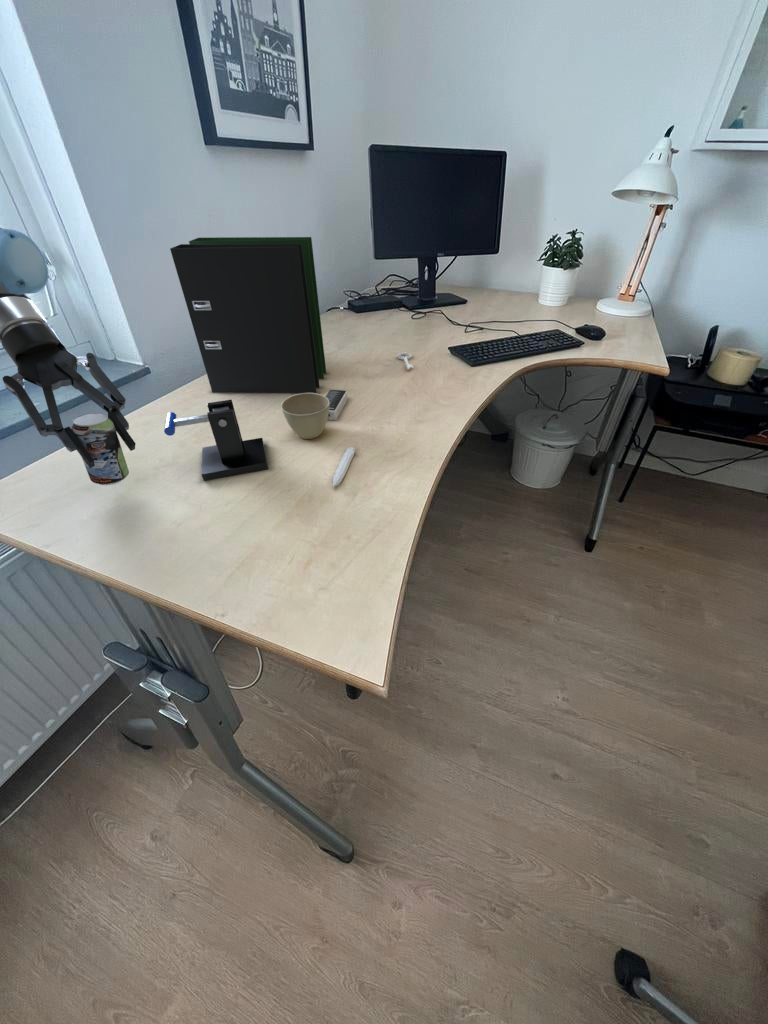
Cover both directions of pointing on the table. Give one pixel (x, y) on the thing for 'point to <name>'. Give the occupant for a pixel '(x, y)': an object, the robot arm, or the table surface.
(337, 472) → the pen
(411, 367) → the key
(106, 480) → the beverage can
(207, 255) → the binder
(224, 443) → the bracket
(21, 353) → the robot arm
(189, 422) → the lever
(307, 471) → the table surface
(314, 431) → the flower pot
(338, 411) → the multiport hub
